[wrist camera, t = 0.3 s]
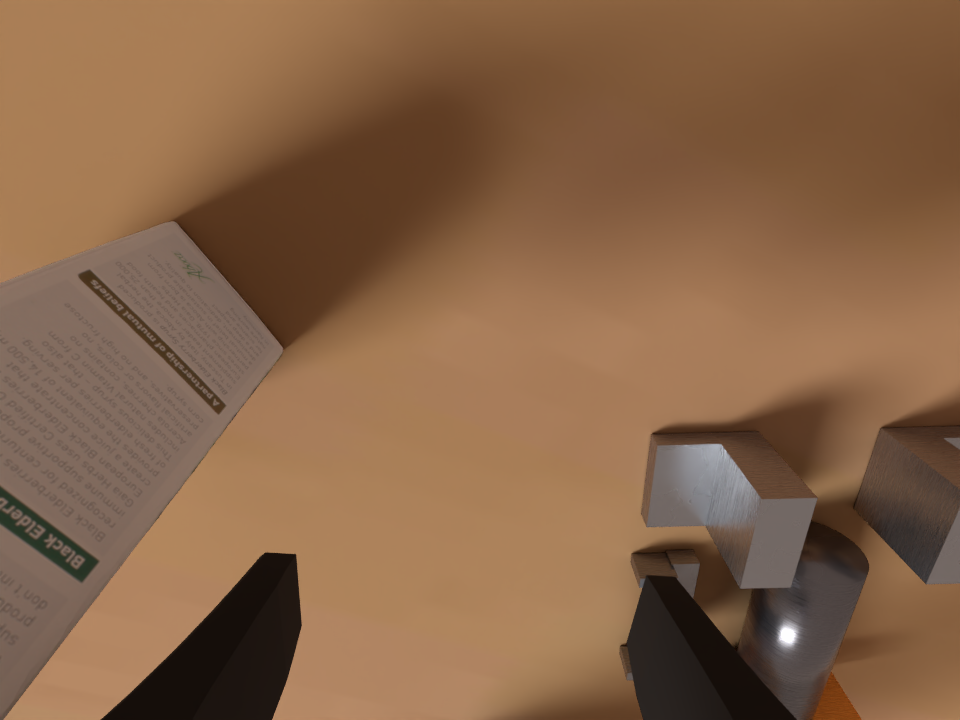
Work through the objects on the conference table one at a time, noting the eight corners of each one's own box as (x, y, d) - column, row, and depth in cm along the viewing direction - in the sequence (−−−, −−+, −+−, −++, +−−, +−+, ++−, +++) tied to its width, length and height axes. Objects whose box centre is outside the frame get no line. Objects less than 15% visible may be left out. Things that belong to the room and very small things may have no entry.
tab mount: (673, 653, 26) (683, 681, 25) (619, 654, 26) (626, 682, 25) (692, 549, 23) (705, 574, 22) (631, 551, 23) (640, 576, 22)
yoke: (952, 506, 22) (1044, 581, 19) (641, 513, 23) (672, 590, 19) (988, 425, 21) (1096, 490, 17) (651, 434, 21) (688, 501, 17)
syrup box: (174, 212, 17) (-802, 526, 4) (294, 352, 19) (-94, 856, 6) (56, 301, 19) (-982, 762, 5) (181, 424, 21) (-341, 970, 7)
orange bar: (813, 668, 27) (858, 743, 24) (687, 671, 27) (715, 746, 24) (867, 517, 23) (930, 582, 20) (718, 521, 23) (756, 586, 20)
